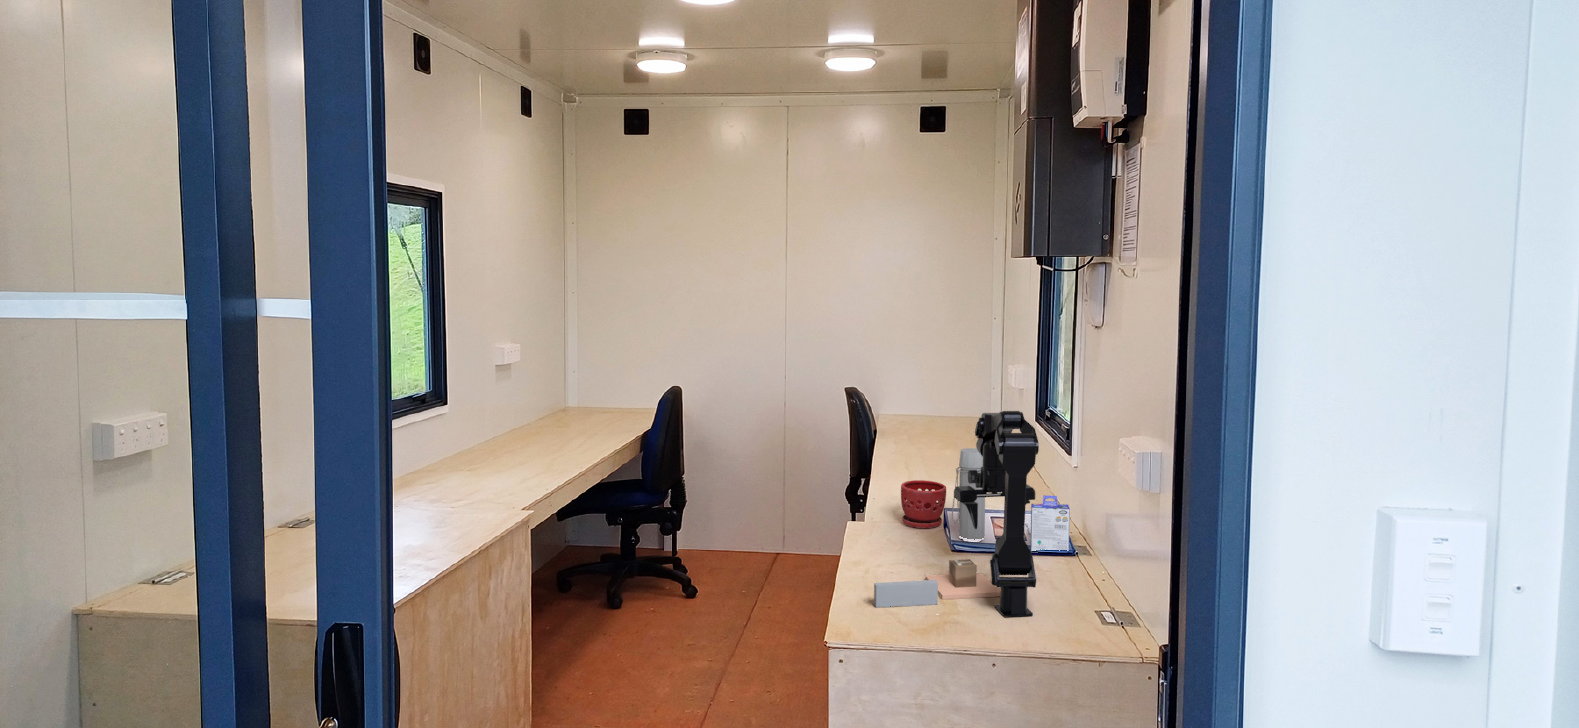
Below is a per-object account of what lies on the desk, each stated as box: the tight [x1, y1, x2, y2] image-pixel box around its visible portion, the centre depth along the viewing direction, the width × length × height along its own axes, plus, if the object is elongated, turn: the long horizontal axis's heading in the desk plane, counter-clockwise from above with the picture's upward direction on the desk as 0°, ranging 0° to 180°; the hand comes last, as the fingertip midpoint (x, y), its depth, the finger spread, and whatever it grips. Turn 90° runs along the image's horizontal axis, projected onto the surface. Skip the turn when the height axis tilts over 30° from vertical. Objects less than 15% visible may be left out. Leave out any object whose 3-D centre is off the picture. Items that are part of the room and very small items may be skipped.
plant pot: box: [900, 479, 947, 529], centre depth 280 cm, size 13×13×12 cm
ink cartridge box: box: [1030, 495, 1071, 551], centre depth 254 cm, size 10×6×14 cm, turn 78°
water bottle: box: [951, 447, 986, 540], centre depth 264 cm, size 9×8×25 cm
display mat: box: [924, 572, 1000, 600], centre depth 225 cm, size 14×14×1 cm
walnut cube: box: [948, 558, 978, 588], centre depth 225 cm, size 5×5×5 cm
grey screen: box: [873, 579, 939, 609], centre depth 214 cm, size 2×14×5 cm, turn 98°
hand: (993, 527), depth 232 cm, fingers open, 9 cm apart
